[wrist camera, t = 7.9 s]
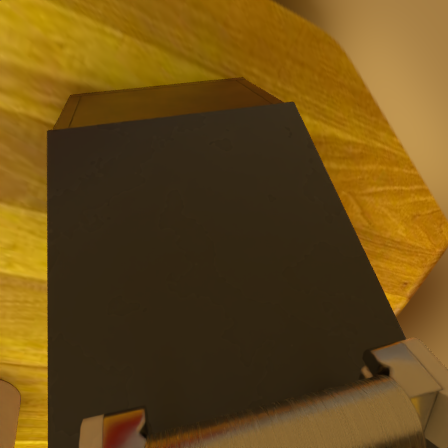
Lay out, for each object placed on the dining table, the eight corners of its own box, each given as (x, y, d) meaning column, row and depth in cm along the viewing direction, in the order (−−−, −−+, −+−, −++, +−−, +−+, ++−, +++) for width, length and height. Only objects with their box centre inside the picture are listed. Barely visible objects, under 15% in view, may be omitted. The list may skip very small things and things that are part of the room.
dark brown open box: (247, 255, 38) (282, 322, 30) (116, 280, 35) (116, 359, 28) (243, 77, 29) (289, 104, 21) (70, 94, 27) (50, 132, 19)
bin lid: (459, 480, 13) (612, 492, 8) (56, 612, 10) (-54, 733, 6) (290, 112, 21) (317, 16, 17) (51, 141, 19) (5, 39, 14)
